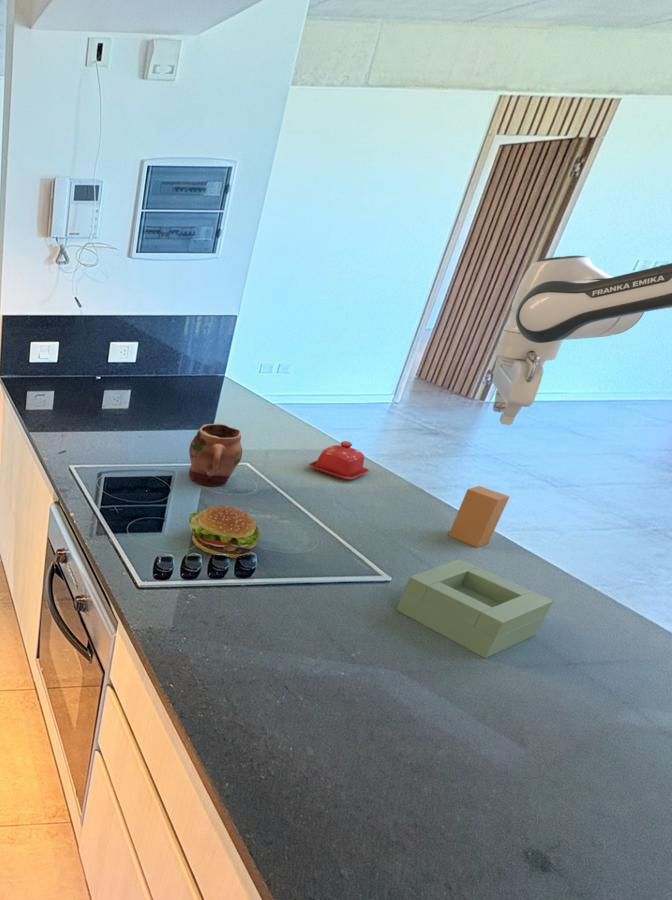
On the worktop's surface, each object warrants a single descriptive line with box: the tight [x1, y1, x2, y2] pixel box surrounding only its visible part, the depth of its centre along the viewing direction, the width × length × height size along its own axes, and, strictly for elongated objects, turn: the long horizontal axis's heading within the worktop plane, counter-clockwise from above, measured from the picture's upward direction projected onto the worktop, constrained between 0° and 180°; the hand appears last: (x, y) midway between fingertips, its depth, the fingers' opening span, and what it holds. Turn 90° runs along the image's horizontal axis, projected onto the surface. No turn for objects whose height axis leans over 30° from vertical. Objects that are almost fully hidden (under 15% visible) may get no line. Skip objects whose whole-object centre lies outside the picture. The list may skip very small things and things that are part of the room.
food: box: [188, 505, 261, 559], centre depth 126 cm, size 14×14×8 cm
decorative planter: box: [188, 423, 243, 487], centre depth 154 cm, size 20×12×14 cm, turn 165°
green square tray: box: [396, 558, 554, 659], centre depth 103 cm, size 14×14×7 cm
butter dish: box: [308, 440, 371, 481], centre depth 161 cm, size 12×12×8 cm
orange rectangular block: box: [448, 485, 510, 548], centre depth 128 cm, size 4×6×11 cm
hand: (501, 417), depth 123 cm, fingers open, 8 cm apart
